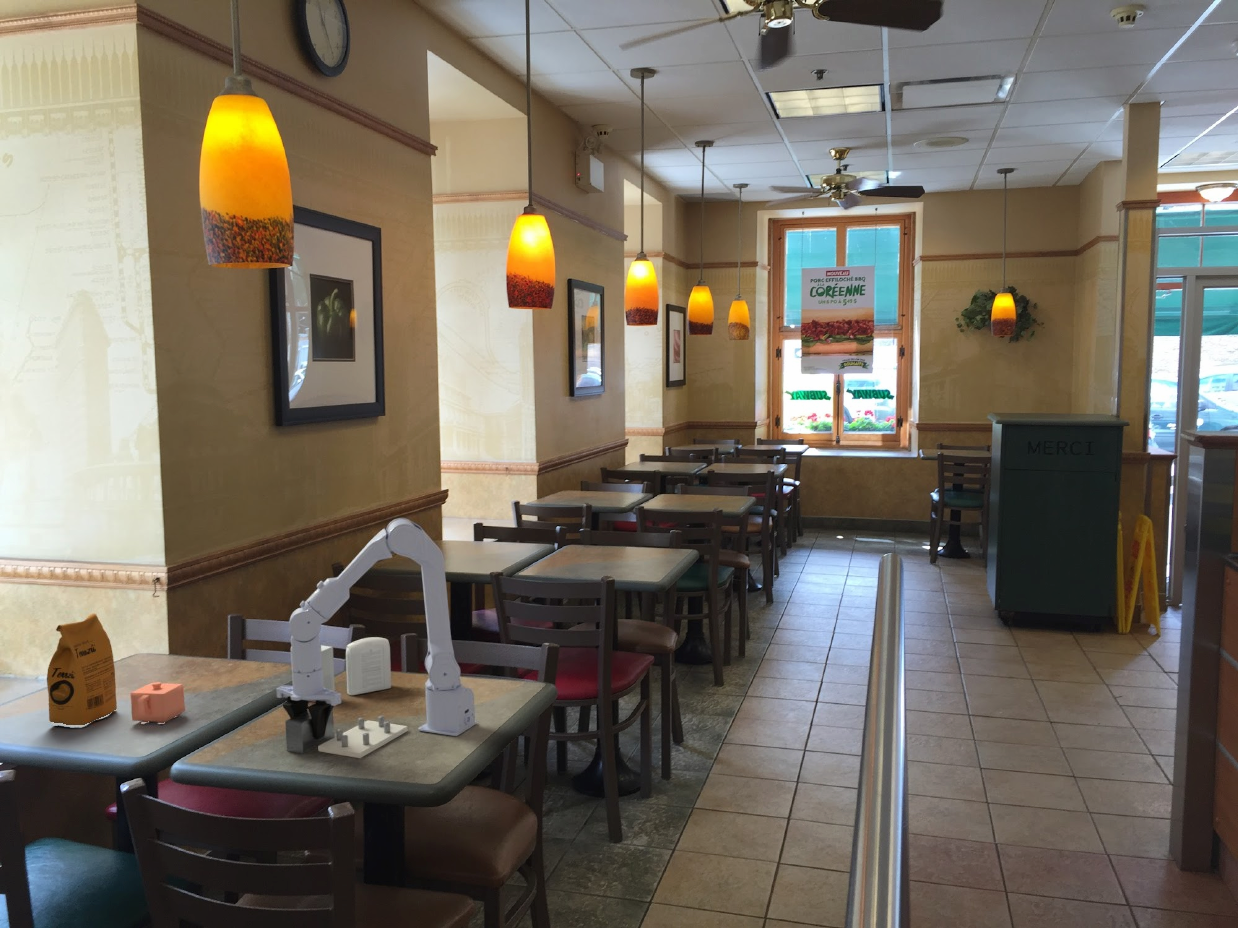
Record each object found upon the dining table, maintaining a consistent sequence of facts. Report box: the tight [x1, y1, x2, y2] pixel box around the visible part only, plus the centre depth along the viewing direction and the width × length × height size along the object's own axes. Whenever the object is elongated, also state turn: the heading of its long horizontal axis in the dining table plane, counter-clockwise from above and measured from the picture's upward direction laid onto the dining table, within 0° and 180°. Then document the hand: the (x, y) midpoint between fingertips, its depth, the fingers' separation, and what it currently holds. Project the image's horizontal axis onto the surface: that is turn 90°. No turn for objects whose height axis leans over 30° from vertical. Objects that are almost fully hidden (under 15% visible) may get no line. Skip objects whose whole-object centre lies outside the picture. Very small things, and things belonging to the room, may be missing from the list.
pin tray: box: [317, 715, 408, 759], centre depth 190 cm, size 10×15×3 cm, turn 156°
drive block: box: [284, 708, 335, 754], centre depth 189 cm, size 4×9×6 cm, turn 157°
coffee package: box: [46, 613, 118, 725], centre depth 206 cm, size 10×12×22 cm
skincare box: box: [312, 644, 336, 703], centre depth 216 cm, size 6×4×12 cm
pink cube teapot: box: [129, 681, 186, 724], centre depth 205 cm, size 8×12×8 cm, turn 170°
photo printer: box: [345, 636, 392, 696], centre depth 221 cm, size 10×4×12 cm, turn 123°
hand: (310, 735), depth 189 cm, fingers closed on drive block, 4 cm apart
